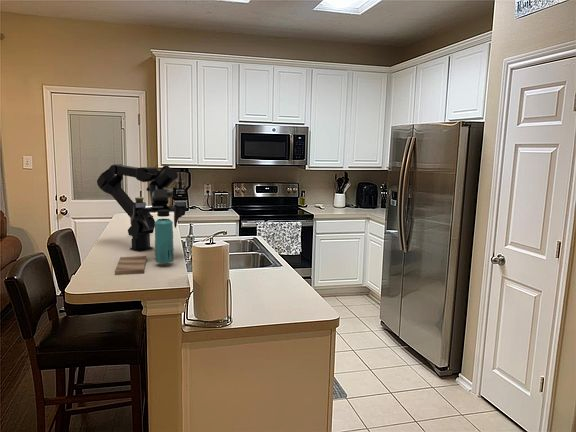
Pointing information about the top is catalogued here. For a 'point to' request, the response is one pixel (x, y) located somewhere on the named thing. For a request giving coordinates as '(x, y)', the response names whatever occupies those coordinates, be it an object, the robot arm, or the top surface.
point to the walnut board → (131, 265)
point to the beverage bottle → (164, 238)
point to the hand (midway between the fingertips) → (162, 228)
